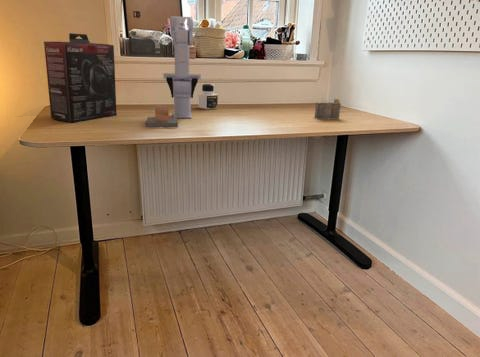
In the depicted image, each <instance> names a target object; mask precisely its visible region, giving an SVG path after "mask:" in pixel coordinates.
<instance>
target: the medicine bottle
mask: <svg viewBox="0 0 480 357" xmlns="http://www.w3.org/2000/svg"><path fill="white" fill-rule="evenodd" d="M201 86H202V88H201V92H202V93H198V108H199V109H203V110H216V109H218V97H219V95H218V94H217V93H215V85H214V84H211V83H204V84H202V85H201Z"/></svg>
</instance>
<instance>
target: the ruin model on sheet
mask: <svg viewBox="0 0 480 357" xmlns="http://www.w3.org/2000/svg"><path fill="white" fill-rule="evenodd" d="M340 112H341V101H340V99H339V98H333V102H316V103H315V110H314V119H316V118H339V119H340Z"/></svg>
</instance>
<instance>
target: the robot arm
mask: <svg viewBox="0 0 480 357" xmlns="http://www.w3.org/2000/svg"><path fill="white" fill-rule="evenodd" d="M169 18H170V20H169V21H170V36H171V38H172V41H173V42H172V43H173V48H174V73H172V72H171V73H167V72H166V73H163V79H166V83H167V85H168V87H169V90H170V94H171V98H173V105H174V106H173V107H174V108H173V112H174V113H173V115H172V117H177V119H192V118H193V117H192V112H191V111H192V110H191V108H192V106H191V105H192V104H191V102H192V100H191V99H193V98H194V92H195V89H196V87H197V84H198V82H199V80H200V81H201V78H202V76H201V73H200V74H197V73H196V74H194V73H190V46H191V40H192V39H193V36H194V35H193V32H194V17H193V16H175V15H174V16H173V15H170V17H169Z"/></svg>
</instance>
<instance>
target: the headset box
mask: <svg viewBox="0 0 480 357" xmlns="http://www.w3.org/2000/svg"><path fill="white" fill-rule="evenodd" d="M78 37H80V38H78ZM68 40H69V41H43V47H44V55H45V57H44V58H45V66H46V77H47V78H46V79H47V88H48V97H49V99H48V101H49V107H50V119H52V120H58V121H63V122H66V123H75V122H81V121H87V120H94V119H101V118H107V117H108V118H109V117H113V116H117V96H116V95H117V94H116V92H117V91H116V70H115V69H116V68H115V67H116V66H115V46H114V44H107V43H96V42H95V43H94V42H90V39H89V37H88V34H87V33H85V34H84V33H82V34H81V33H71V32H70V33H69V34H68Z"/></svg>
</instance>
